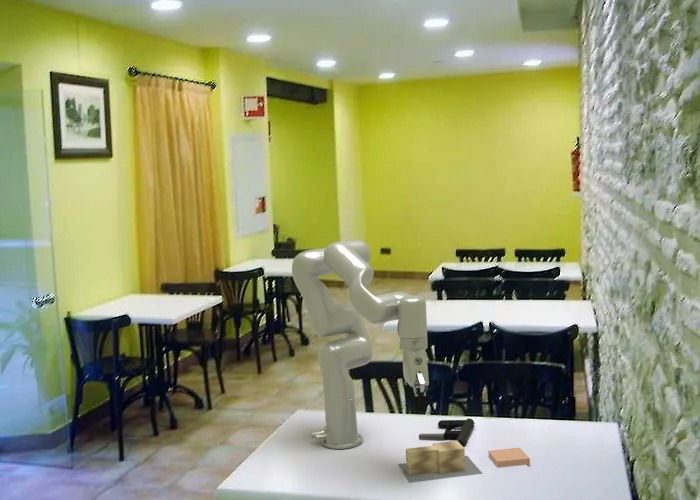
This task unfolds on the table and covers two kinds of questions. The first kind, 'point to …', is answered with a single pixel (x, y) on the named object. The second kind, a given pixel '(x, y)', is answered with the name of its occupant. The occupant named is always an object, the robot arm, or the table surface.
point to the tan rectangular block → (509, 457)
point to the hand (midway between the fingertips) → (415, 404)
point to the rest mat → (469, 470)
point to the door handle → (459, 436)
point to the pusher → (436, 458)
